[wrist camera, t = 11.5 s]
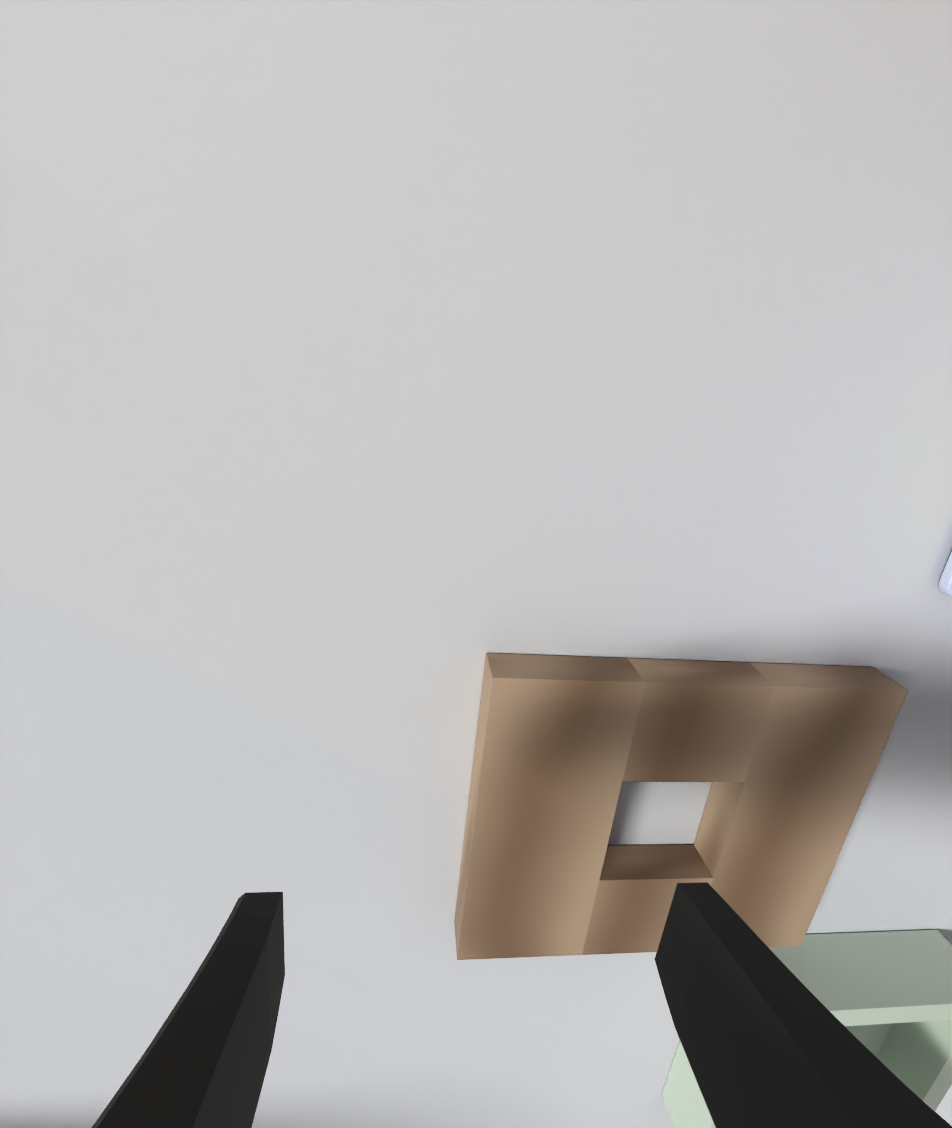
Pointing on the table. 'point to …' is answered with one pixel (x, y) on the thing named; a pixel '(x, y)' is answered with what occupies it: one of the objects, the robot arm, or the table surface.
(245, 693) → the table surface
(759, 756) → the tan flat square frame
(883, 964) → the tray
